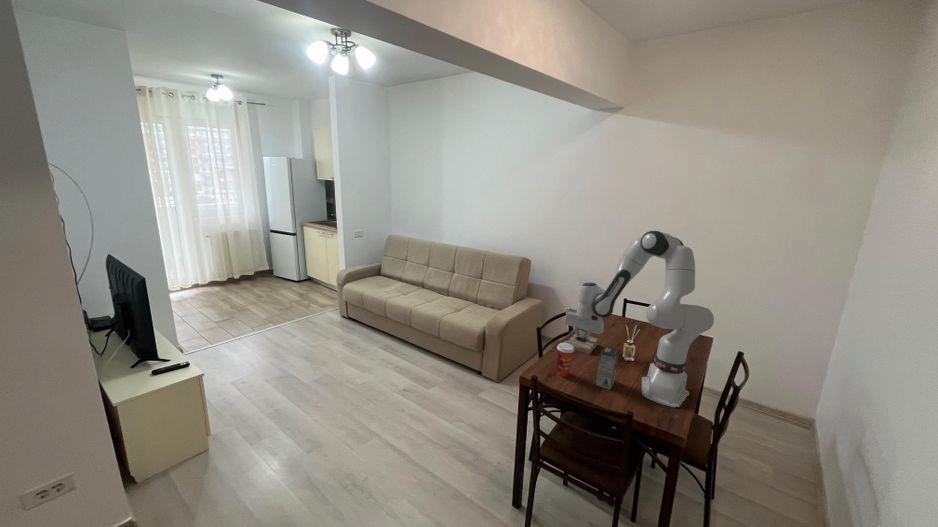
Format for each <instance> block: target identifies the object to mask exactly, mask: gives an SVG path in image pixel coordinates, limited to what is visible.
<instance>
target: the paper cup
mask: <svg viewBox="0 0 938 527" xmlns="http://www.w3.org/2000/svg"><path fill="white" fill-rule="evenodd" d="M556 348H557V351H556V352H557V353H556V369H555V371H556V375H557V376H559V377H562V378H567V377H568V376H569V375H570V370H571V366H572V361H573V356H574V352H575V350H574V347H573V346H572V345H571V344H568V343H564V342H560V343H559V344H558V345H557V346H556Z"/></svg>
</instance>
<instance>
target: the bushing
mask: <svg viewBox="0 0 938 527" xmlns="http://www.w3.org/2000/svg"><path fill="white" fill-rule="evenodd" d="M578 332H579V334H578V341H580V342H585V340H586V338H585V335H586V334H588V331H586V330H583V329H579V328H578Z"/></svg>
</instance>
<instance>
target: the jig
mask: <svg viewBox="0 0 938 527" xmlns="http://www.w3.org/2000/svg"><path fill="white" fill-rule="evenodd" d="M575 333H576V332H575V330H574V329H572V330H571V331H570V332H569V333H568V334H567V335H565V337H564V338H563V343H568V344H571V345H572V346H573V347H574V351H577V352H581V353H583V354H587V355H590V354H591V353H592V352H593V350H594V349H595V348H596V347H597V346H598V342H599V338H598V337H597V338H596V337H593V336H590V335H589V338H588V339H587V338H586V340H585V342H580V341H578V336H577V335H575Z"/></svg>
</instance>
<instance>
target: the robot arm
mask: <svg viewBox="0 0 938 527" xmlns="http://www.w3.org/2000/svg"><path fill="white" fill-rule="evenodd" d="M652 257H656V258H659V259H664V262H665V275H664V276H665V279H664V288H663V290H662V293H661V295H659V297H658V298H657V299H656V300H655V301H654V302H652V303H650V304H649V306H648V307H647V309H646V312H645V313H646V314H645V317H646V319H647V322H648V323H649V324H650V325H651V326H654V327H658V328H661V329H668V330H669V329H670V330H671V332H669V333H666V334H664V335H662V336H661V337H660V339H659V341H658V347H657V350H656V351H657V352H656V353H655V356H654V358H653V359H654V360H653V362H651V363H650V364H649V368H648V372H647V374H646V376H642V377H641V395H642V396H643V397H644V398H646V399H648V400H650V401H651V402H655V403H657V404H660V405H663V406H667V407H669V408H676V407H678V408H680V407H681V405H682V404H683V403H684V402H685V401H686V400H687V398H688V397H689V395H690V391H688V390H687V389H686V385H687V382H688V381H687V379H688V374H687V372H686V371H685V370H686V366H687V360H686V359H687V355H688V351H689V350H690V349H689V348H690V347H691V344H693V341H695V339H697V337H699V336H700V335H701V334H703V333H705V332H707V331H710V329H711V328H712V327H713V325H714V323H715V316H714V313H713V311H711V310H710V308H707V307H704V306H701V305H696V304H686V303H681V300H682V298H683V297H684V296H687V295H689V294H692V292H694V290H695V288H696V263H695V262H696V261H695V255H694V252H693V249H692V248H691V247H688V246H687V245H684V243H683V242H682V240H680V238H677V237H675V236H673V235H671V234H670V233H666V232H661V231H659V230H650V231H646V232H645V233H644V234H643V235H642V236H641V237H637V238H635V239H634V240H632V242H631V243H630V244H629V245H628V247H627V248H626V249H625V250H624V252H623V253H622V255H621V256H620V258H619V261H618V263H617V266H616V269H615V272H614V276H613V277H612V280H611V281H610V284H608V286H607V288H606V290H605V289H603V288H602V287H600V286H599V285H598V284H597V283H595V282H585V283H583V284H581V285H580V288H579V292H578V303H577V307H576V309H573V308H567V309H566V310H565V317H564V322H563V323H564V325H565V326H569V327H573V330H575V332H576V333H575V335H577V336H578V334H579V329H583V330H586V331H587V333H586V335H585V338H587V339H588V338H589V336H590V335H591V333H594V334H595V335H596V334H597V335H602V334H603V332H604V327H605V324H604V320H603V318H609V317H610V316H612V314H613V312H614V308H615V305H616V301H617V299H618V297H619V296H620V295H621V294H622V292H623V291H624V290H625V288H626V286H627V285H628V284H629V283H630V282H631V281H632V280H633V279H634V278H635V277H636V276H637V275H638V274H639V273H640V272H641V271H642V269H643V268H644V267H645V266H646V264H647V263H648V261H649V260H651V258H652ZM687 396H688V397H687ZM686 397H687V398H686ZM683 401H684V402H683Z"/></svg>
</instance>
